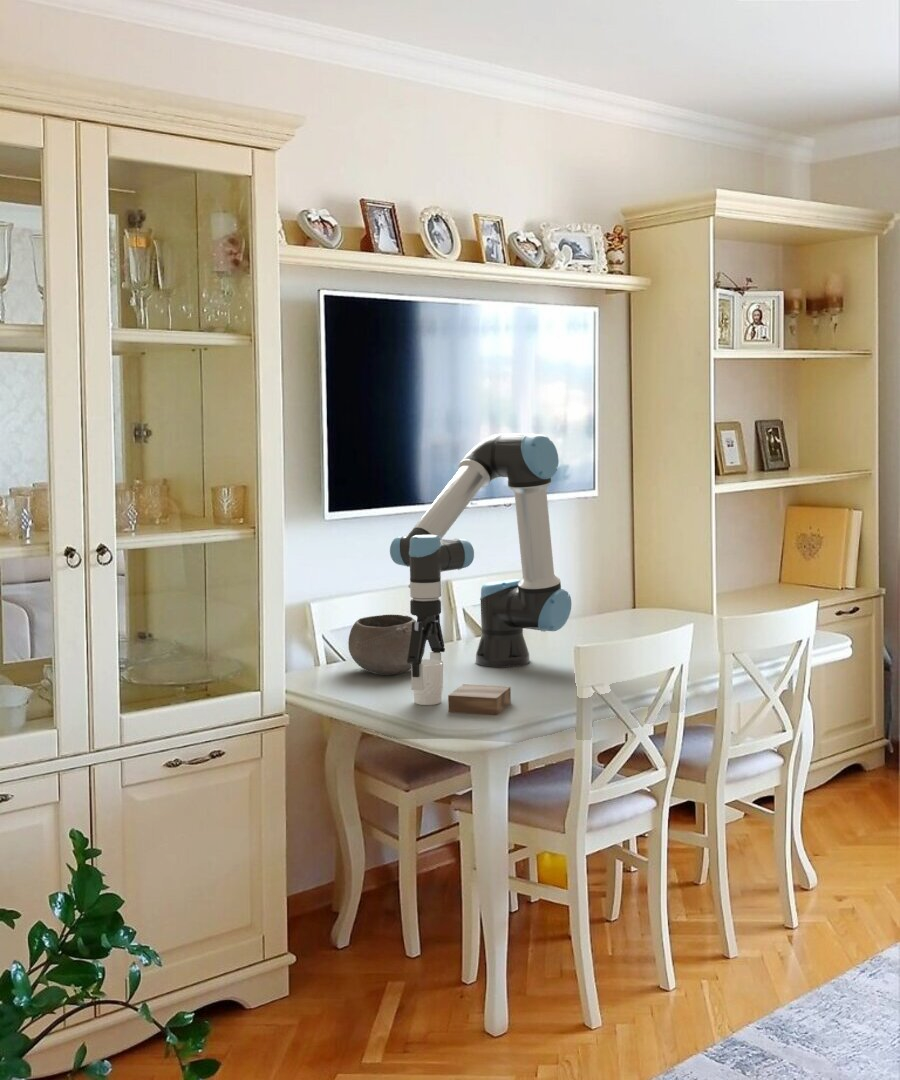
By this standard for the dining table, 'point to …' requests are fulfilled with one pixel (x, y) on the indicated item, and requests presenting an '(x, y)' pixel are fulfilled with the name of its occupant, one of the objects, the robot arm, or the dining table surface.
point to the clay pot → (382, 643)
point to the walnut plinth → (479, 699)
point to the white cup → (430, 683)
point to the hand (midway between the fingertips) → (426, 684)
